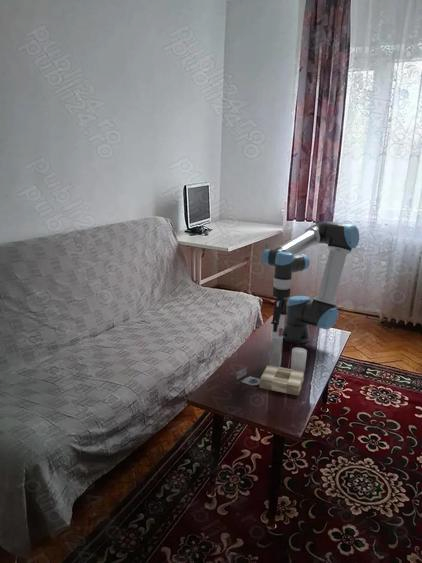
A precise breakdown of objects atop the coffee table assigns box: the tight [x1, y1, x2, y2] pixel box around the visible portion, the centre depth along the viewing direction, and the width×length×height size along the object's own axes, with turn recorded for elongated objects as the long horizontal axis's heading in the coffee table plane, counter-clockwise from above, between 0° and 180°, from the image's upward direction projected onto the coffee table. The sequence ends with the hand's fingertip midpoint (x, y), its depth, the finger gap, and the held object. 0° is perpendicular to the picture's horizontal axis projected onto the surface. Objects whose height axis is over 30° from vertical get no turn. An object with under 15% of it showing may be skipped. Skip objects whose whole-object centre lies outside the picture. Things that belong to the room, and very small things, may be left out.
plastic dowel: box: [290, 347, 308, 372], centre depth 188 cm, size 6×6×9 cm
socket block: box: [259, 364, 305, 396], centre depth 174 cm, size 14×16×4 cm
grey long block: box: [270, 335, 284, 367], centre depth 190 cm, size 4×4×14 cm
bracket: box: [236, 367, 260, 386], centre depth 176 cm, size 7×10×4 cm, turn 48°
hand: (277, 332), depth 187 cm, fingers open, 13 cm apart
